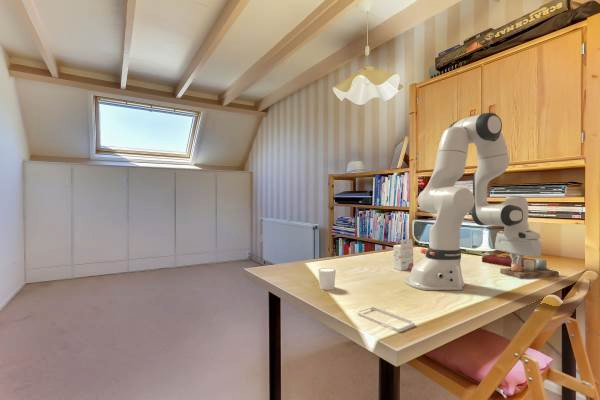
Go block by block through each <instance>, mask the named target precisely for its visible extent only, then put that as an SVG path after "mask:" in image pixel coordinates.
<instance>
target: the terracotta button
mask: <svg viewBox="0 0 600 400" xmlns="http://www.w3.org/2000/svg"><path fill="white" fill-rule="evenodd" d="M510 268H511V271H514V272H522V264H520V265H518V264H514V263H511V267H510Z"/></svg>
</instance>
